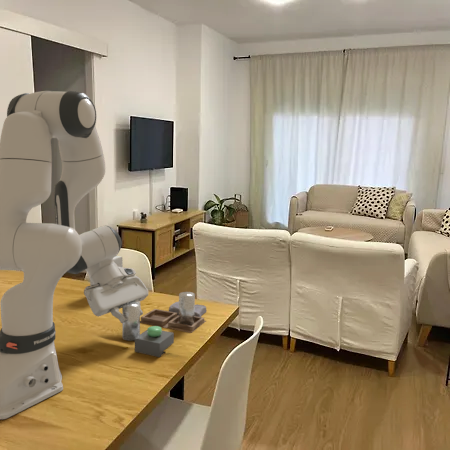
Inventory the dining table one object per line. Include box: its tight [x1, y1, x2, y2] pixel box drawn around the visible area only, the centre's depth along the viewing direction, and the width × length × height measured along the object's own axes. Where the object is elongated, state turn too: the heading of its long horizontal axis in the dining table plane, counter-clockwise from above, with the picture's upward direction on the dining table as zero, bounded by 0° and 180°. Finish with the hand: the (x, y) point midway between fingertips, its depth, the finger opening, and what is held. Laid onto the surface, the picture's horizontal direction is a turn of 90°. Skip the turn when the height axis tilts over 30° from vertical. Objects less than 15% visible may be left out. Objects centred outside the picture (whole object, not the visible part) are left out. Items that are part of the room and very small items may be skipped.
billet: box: [121, 302, 141, 342], centre depth 133 cm, size 5×5×10 cm
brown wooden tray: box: [140, 308, 207, 334], centre depth 147 cm, size 11×19×2 cm, turn 68°
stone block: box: [168, 301, 207, 317], centre depth 156 cm, size 12×5×10 cm
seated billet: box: [178, 291, 196, 326], centre depth 144 cm, size 5×5×10 cm
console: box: [134, 329, 175, 358], centre depth 129 cm, size 8×8×4 cm
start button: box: [146, 325, 163, 338], centre depth 128 cm, size 4×4×5 cm
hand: (132, 318), depth 132 cm, fingers closed on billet, 5 cm apart
